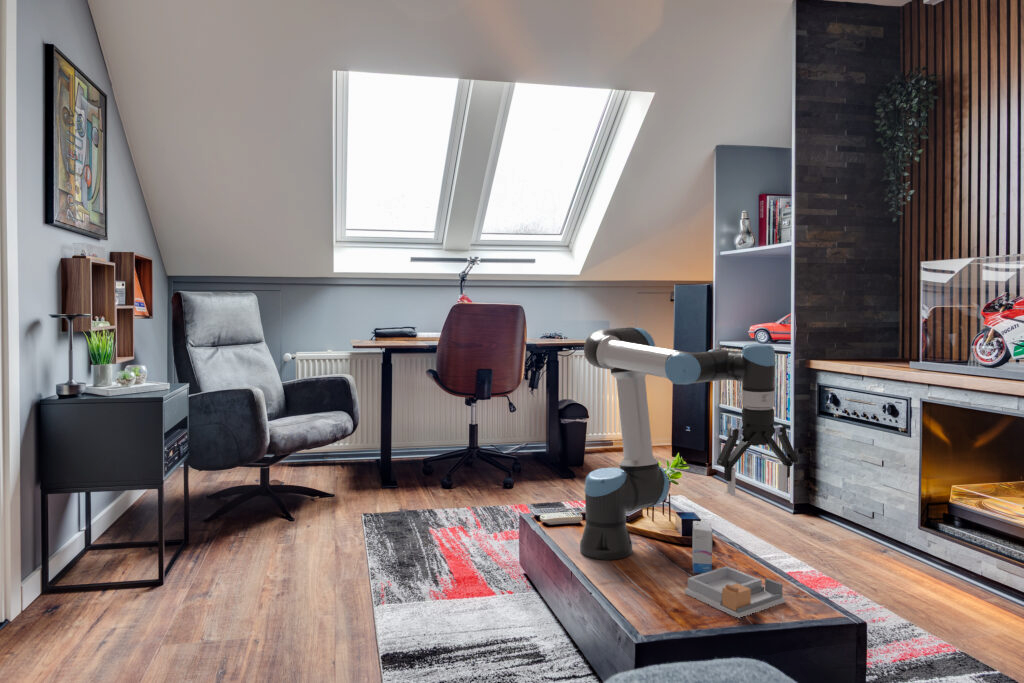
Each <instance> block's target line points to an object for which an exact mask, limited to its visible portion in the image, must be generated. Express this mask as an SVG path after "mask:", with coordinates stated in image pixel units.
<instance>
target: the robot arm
mask: <svg viewBox="0 0 1024 683" xmlns="http://www.w3.org/2000/svg"><path fill="white" fill-rule="evenodd" d="M583 345H584V346H583V353H584V356H585V359H586V360H587V362H588V363H589V364H590V365H591V366H592V367H596V368H600V369H605V370H610V374H611V376H612V377H614V378H615V380H616V386H617V387H616V388H617V397H618V398H617V399H618V408H619V420H620V428H621V438H622V439H621V440H622V450H623V459H622V460H621V461H620V463H619V467H614V466H613V467H610V466H609V467H607V468H606V467H601V468H597V469H595V470H592V471H590V472H588V474H587V475H586V477H585V482H584V483H585V484H584V495H585V497H584V498H585V501H584V502H585V505H584V506H585V526H584V530H583V533H582V537H581V539H580V543H579V550H580V553H581V554H582V555H584V556H585V557H588V558H591V559H596V560H602V561H603V560H605V561H607V560H609V561H610V560H620V559H621V560H622V559H625V558H627V557H629V556H630V555H632V554H633V542H632V539H631V536H630V533H629V530H628V527H627V512H632V511H637V510H641V509H646V508H653V507H655V506H657V505H660V504H661V503H664V500H665V499H666V498H667V496H668V494H669V490H670V480H669V479H670V478H669V476H668V474H667V473H666V470H665V469H664V468H663V467H662V466H660V463H659V460H658V459H657V458H656V457H655V456H654V455H653V446H652V444H653V443H652V434H651V426H650V414H649V404H648V394H647V385H646V376H647V375H650V376H655V377H660V378H663V379H668V380H669V381H670V382H671V383H672V384H674V385H684V386H686V385H691V384H699V383H707V382H717V381H718V382H719V381H734V382H735V381H737V382H741V383H742V384H741V386H742V387H741V388H742V389H741V391H742V393H741V405H742V406H743V407H742V409H741V424H742V426H741V428H736V427H733V426H731V427H730V428H729V430H728V436H727V439H726V441H725V443H724V445H723V447H722V449H721V452H720V454H719V456H718V458H717V459H716V464H717V465H719V466H720V467H722V468H723V469H724V472H723V473H724V474H723V476H724V477H723V479H724V481H726V482H727V484H726V485H727V486H726V487H727V494H729V495H731V496H736V468H734V466H735V465H736V464H737V462H738V461H739V460H740V459H741V457H742V456H743V455H744V453H745V452H746V451H747V449H749V448H750V447H751V446H753V447H756V446H766V445H767V446H768V448H770V450H771V451H772V453H774V455H775V456H776V457H777V459H779V461H780V462H781V463H778V473H777V474H778V481H777V483H778V485H777V486H778V488H777V489H778V490H779V491H780V492H783V493H787V492H788V479H789V478H790V477H791V467H792V466H793V465H794V464H795V463H798V461H799V459H798V456H797V454H796V453H795V451H794V448H793V446H792V444H791V442H790V439H789V437H788V436H787V428H786V427H785V426H784V425H781V424H777V425H776V426H774V423H775V409H774V408H773V407H774V406H775V374H776V373H775V372H776V363H777V362H776V354H775V353H776V352H775V347H774V346H772V345H771V344H760V343H759V344H758V343H752V344H751V343H750V344H744V345H743V347H742V351H739V350H730V349H723V348H719V349H714V348H713V349H709V350H708V351H702V352H700V351H699V352H688V351H683V350H677V349H676V350H675V349H671V348H664V347H658V346H656V343H655V341H654V338H653V337H652V335H651V334H650V333H649V332H648V331H647V330H646V329H644V328H641V327H630V326H629V327H623V328H622V327H618V328H602V329H598V330H595V331H594V332H592V333H591V334H590V335H589V336H588V337H587V338H586V340H585V342H584V344H583ZM775 434H776V435H777V437H778V439H779V442H780V444H781V447H782V448H783V450H784V451H783V450H782V449H781V448H780V446H779V445H778V444H777V442H776V441H775V439H773V436H774V435H775ZM741 435H742V438H741V439H740V440H739V442H738V439H739V437H741ZM737 442H738V444H737V445H736V443H737ZM784 452H785V453H784Z"/></svg>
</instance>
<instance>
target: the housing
mask: <svg viewBox="0 0 1024 683" xmlns="http://www.w3.org/2000/svg"><path fill="white" fill-rule="evenodd" d="M737 583H738V584H740V585H742V586H745V587H747V588H750V589H751V604H748V605H746V606H743V607H740V608H737V611H735V610H733V609H730V608H728V607H726V606H724V605H722V588H724V587H726V585H727V584H729V585H734V584H737ZM762 583H763V580H762V579H760V578H758V577H755V576H753V575H750V574H748V573H746V572H742V571H740V570H737V569H735V568H733V567H730V566H728V565H725V566H723V567H719V568H715V569H713V570H712V571H709V572H706V573H698V574H697V575H692V576H690V577H687V587H686V588H684V594H685V595H687V596H690V597H691V598H694V599H695V598H696V599H695V600H698V601H700V602H702V603H704V604H707V605H708V604H709V605H708V606H711V607H713V608H715V609H717V610H720V611H721V612H723V613H725V612H726V614H728V615H730V616H732V617H734V616H735V617H734V618H736V617H738V618H740V617H743V616H746V615H748V616H750V614H751V615H753V614H752V613H754V614H756V613H759V612H761V610H762V611H764V609H765V610H767V609H769V607H770V608H773V607H775V605H776V606H778V605H781V604H784V603H785V602H786V596H783V583H781V582H779V581H776V580H773V579H771V578H768V577H767V578H765V579H764V586H763V584H762ZM772 606H773V607H772ZM755 612H756V613H755ZM746 617H747V616H746ZM738 618H737V619H738ZM743 618H744V617H743ZM740 619H741V618H740Z"/></svg>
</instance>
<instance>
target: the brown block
mask: <svg viewBox="0 0 1024 683" xmlns="http://www.w3.org/2000/svg"><path fill="white" fill-rule="evenodd" d="M748 604H751V589H750V588H747V587H745V586H742V585H740V584H738V583H737V584H734V585H729V584H727V585H726V587H724V588H722V605H724V606H726V607H728V608H730V609H733V610H735V611H737V608H740V607H743V606H746V605H748Z"/></svg>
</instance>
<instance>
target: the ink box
mask: <svg viewBox="0 0 1024 683" xmlns="http://www.w3.org/2000/svg"><path fill="white" fill-rule="evenodd" d="M691 541H692V542H691V543H692V544H691V545H692V547H691V549H692V550H691V555H692V556H691V558H692V559H691V562H692V563H691V564H692V572H693V574H703V573H706V572H709V571H712V566H713V529H712V523H711V522H710V521H701V520H700V521H699V520H693V521H692V540H691Z"/></svg>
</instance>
